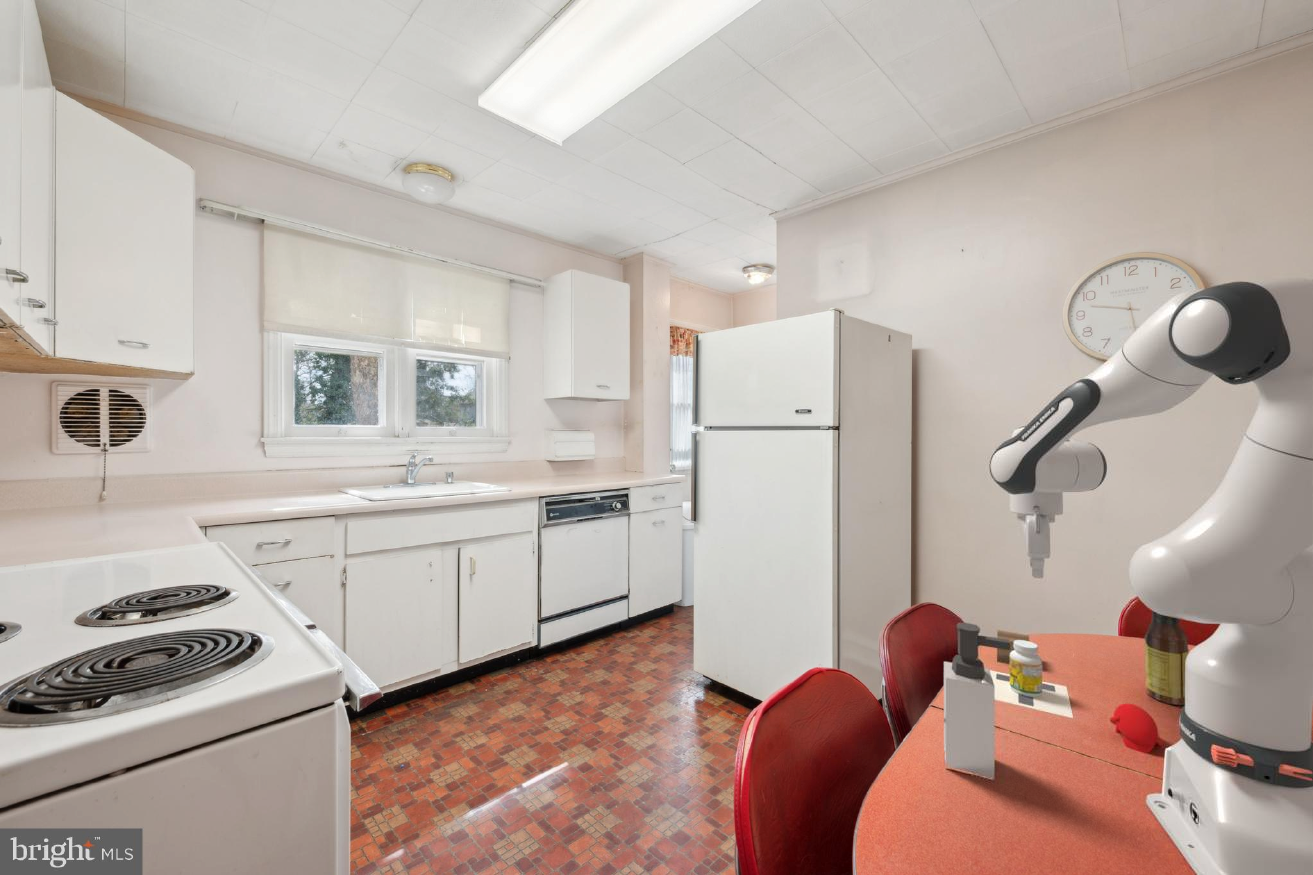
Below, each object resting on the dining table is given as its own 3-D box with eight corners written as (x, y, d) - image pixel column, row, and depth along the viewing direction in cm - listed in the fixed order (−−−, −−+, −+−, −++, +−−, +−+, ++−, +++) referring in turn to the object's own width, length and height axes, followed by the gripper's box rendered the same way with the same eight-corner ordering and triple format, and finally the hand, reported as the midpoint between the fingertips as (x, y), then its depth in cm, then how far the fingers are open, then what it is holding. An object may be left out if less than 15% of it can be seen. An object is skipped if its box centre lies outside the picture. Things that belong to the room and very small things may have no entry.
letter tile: (1073, 721, 96) (1073, 718, 96) (982, 699, 103) (982, 696, 103) (1066, 689, 107) (1066, 686, 107) (985, 672, 115) (985, 669, 115)
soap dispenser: (1012, 785, 79) (1013, 639, 78) (945, 768, 83) (945, 630, 82) (1006, 760, 85) (1006, 625, 84) (943, 746, 88) (943, 616, 88)
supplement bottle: (1046, 699, 102) (1046, 651, 102) (1013, 695, 104) (1014, 647, 104) (1036, 687, 107) (1036, 640, 107) (1006, 682, 109) (1006, 637, 109)
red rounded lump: (1104, 707, 94) (1100, 700, 91) (1147, 705, 91) (1144, 698, 88) (1125, 758, 90) (1121, 754, 86) (1170, 759, 86) (1169, 753, 83)
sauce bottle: (1170, 691, 106) (1171, 594, 106) (1199, 708, 100) (1200, 604, 99) (1135, 690, 107) (1136, 593, 106) (1162, 706, 100) (1163, 603, 100)
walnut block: (1029, 671, 116) (1029, 644, 115) (996, 664, 119) (997, 638, 119) (1028, 661, 120) (1028, 635, 120) (997, 655, 124) (997, 629, 124)
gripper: (1059, 510, 97) (1060, 586, 96) (1051, 500, 114) (1052, 564, 113) (1017, 508, 100) (1018, 581, 100) (1016, 498, 117) (1017, 560, 117)
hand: (1036, 572), depth 107 cm, fingers open, 8 cm apart
